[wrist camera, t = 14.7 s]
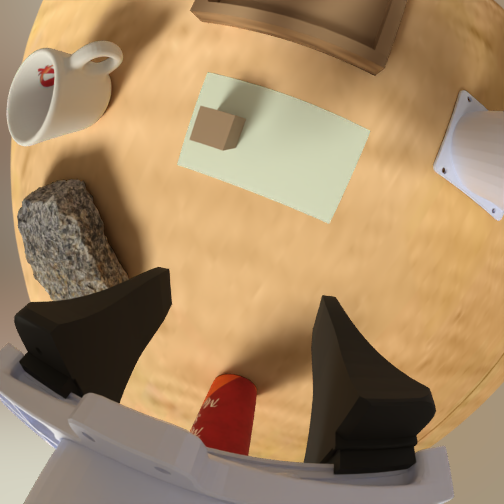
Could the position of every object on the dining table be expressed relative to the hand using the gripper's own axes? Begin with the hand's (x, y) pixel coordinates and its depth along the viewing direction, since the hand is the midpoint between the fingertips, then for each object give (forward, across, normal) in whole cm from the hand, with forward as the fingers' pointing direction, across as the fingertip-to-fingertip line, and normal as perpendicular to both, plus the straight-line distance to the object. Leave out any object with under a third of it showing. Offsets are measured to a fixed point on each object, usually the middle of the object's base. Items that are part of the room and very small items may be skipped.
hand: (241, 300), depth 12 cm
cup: (+11, +16, -12) cm, 23 cm away
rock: (+11, +20, +4) cm, 23 cm away
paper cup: (+11, +2, +21) cm, 24 cm away
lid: (+11, +1, -6) cm, 13 cm away
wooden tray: (+10, -1, -21) cm, 23 cm away
